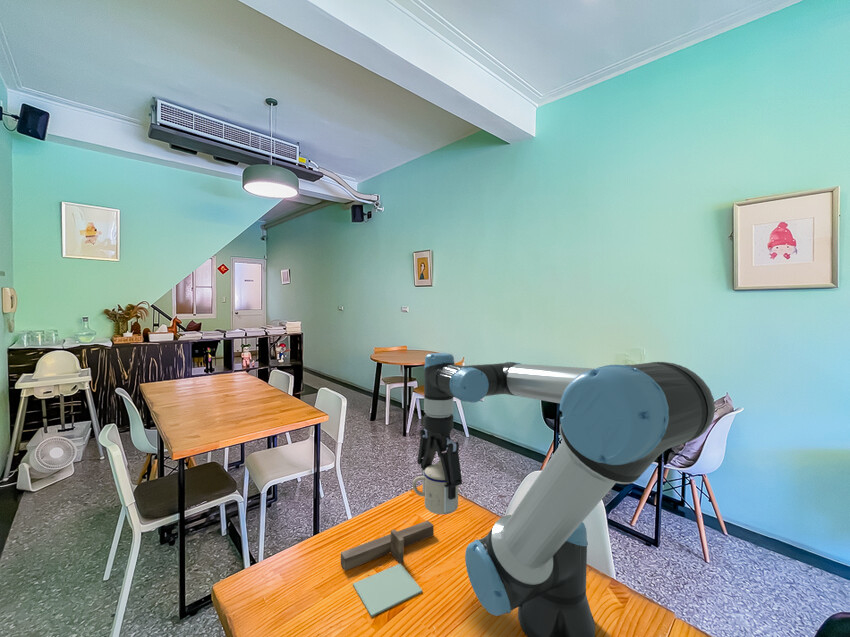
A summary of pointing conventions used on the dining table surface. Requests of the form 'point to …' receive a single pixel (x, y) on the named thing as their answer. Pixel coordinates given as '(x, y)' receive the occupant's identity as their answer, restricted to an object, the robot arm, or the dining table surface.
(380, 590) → the mat
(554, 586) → the robot arm
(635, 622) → the dining table surface
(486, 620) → the dining table surface
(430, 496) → the teacup with lid
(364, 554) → the grey long bar
